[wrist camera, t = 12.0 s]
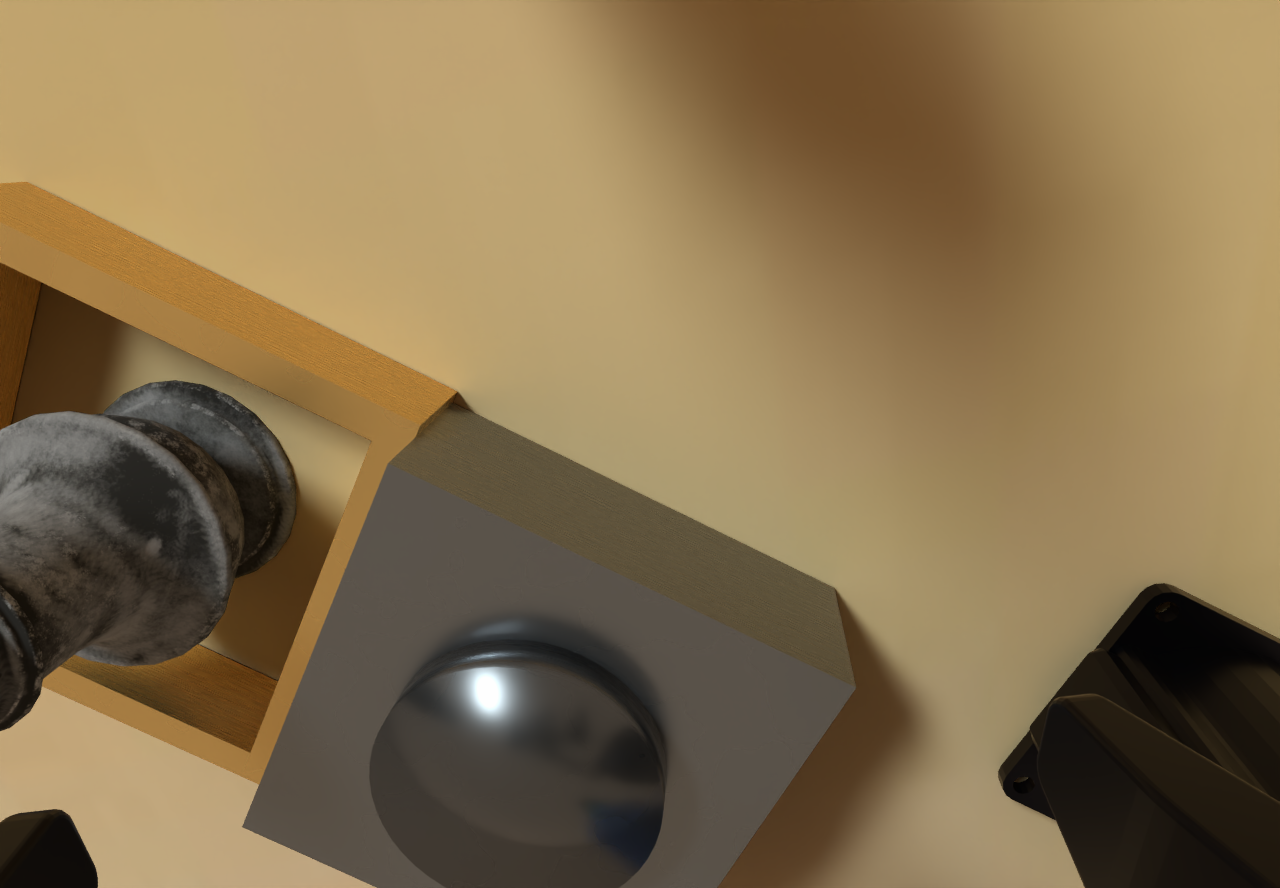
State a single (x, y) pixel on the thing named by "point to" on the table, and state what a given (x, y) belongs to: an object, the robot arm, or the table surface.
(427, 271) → the table surface
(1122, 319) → the table surface
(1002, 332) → the table surface
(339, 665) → the two-tone flat frame block
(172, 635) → the dark grey tall piece
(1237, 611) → the table surface
